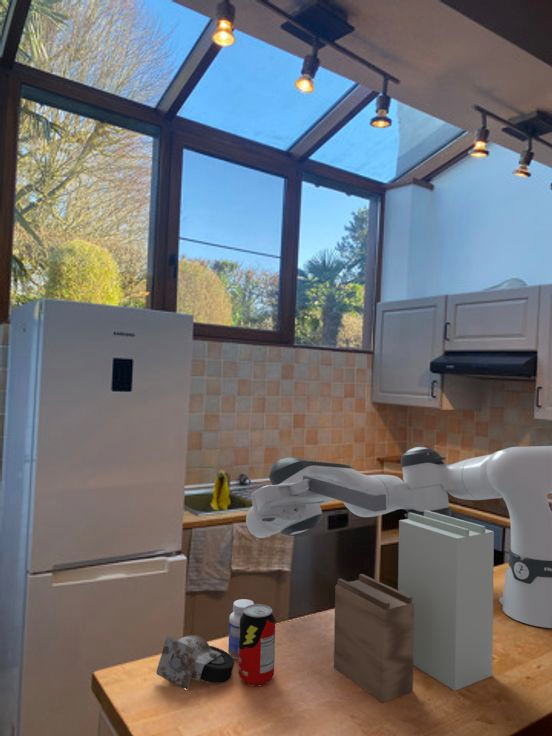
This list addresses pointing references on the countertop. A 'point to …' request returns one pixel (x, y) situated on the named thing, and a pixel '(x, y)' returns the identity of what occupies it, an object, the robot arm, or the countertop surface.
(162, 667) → the caster wheel
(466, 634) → the stand
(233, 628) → the pill bottle
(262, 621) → the beverage can
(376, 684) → the chassis block
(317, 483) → the bar
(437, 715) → the countertop surface
